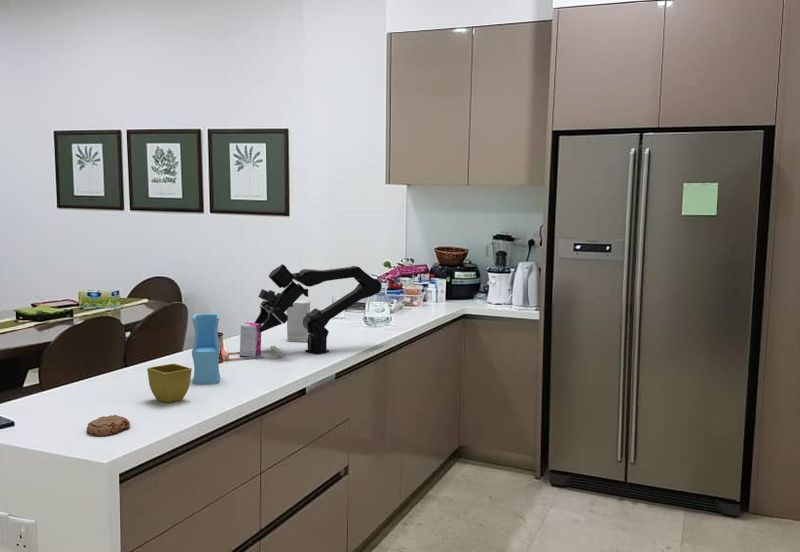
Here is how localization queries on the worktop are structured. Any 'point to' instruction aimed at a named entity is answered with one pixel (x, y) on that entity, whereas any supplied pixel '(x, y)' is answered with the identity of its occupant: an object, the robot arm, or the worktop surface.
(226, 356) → the breaker track
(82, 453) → the worktop surface
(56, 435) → the worktop surface
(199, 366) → the light blue tall piece
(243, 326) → the supplement box
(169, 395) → the flower pot
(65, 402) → the worktop surface
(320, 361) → the worktop surface
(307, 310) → the skincare box
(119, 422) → the cookie
